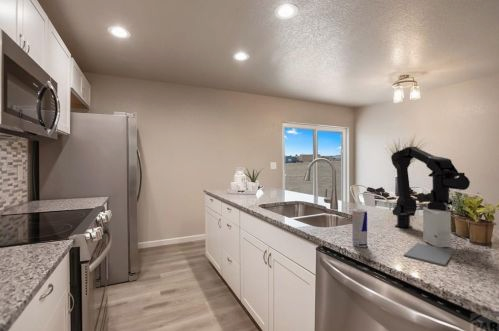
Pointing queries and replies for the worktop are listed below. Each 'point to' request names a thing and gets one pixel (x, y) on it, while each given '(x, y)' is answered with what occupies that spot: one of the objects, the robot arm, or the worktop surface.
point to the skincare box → (437, 227)
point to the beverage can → (359, 227)
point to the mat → (430, 254)
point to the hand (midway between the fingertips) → (441, 223)
